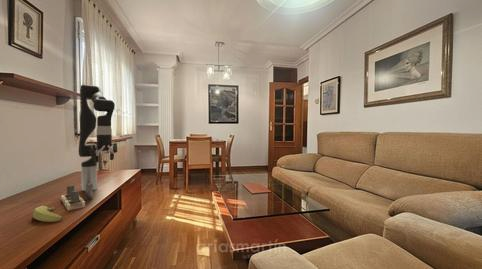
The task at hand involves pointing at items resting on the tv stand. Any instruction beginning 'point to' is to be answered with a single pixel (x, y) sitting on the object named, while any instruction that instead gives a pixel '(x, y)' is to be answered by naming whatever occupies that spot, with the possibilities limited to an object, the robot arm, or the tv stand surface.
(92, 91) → the robot arm
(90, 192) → the peg
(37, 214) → the banana
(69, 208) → the pin board
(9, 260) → the tv stand surface
